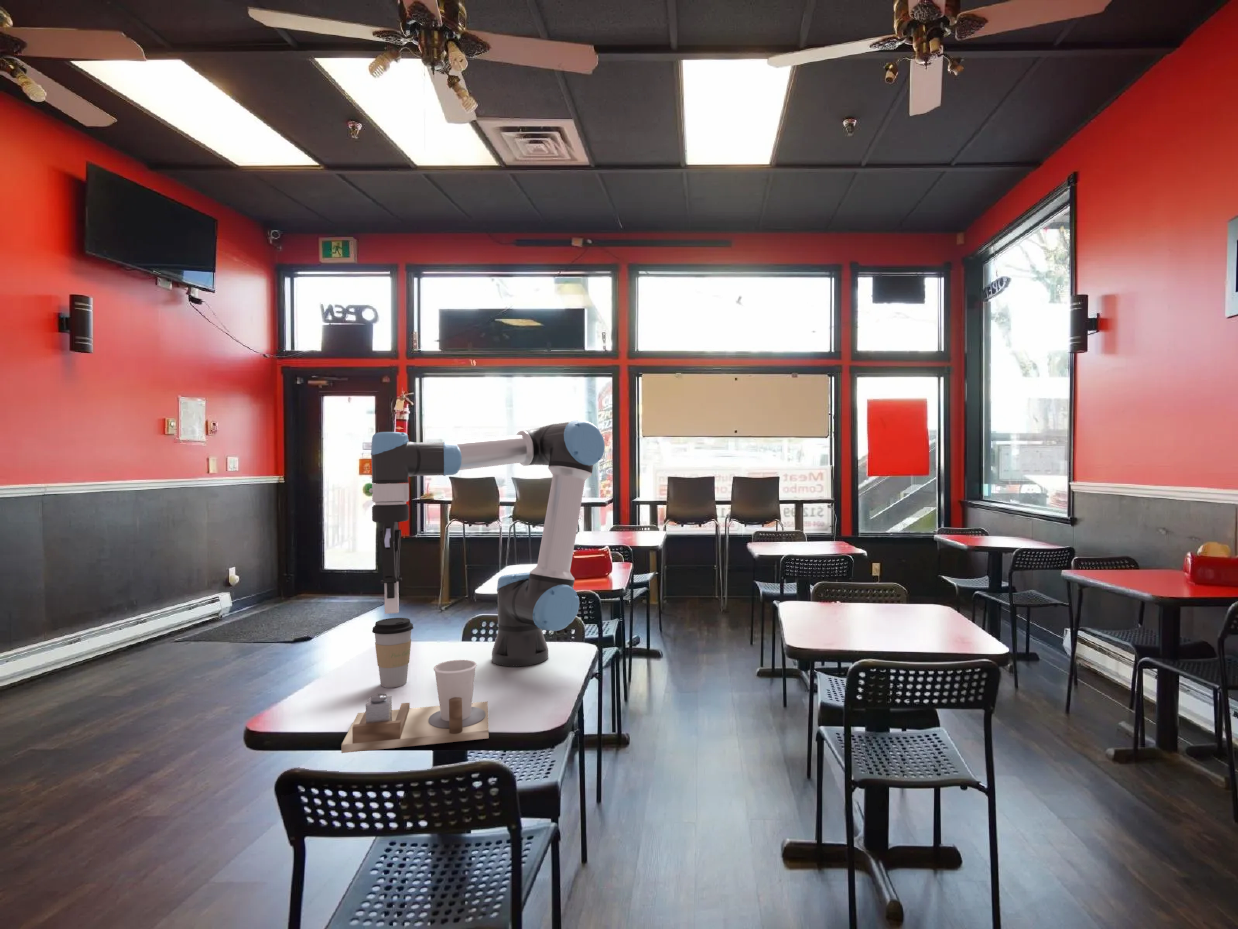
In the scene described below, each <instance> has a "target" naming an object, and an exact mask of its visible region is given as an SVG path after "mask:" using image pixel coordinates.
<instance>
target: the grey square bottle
mask: <svg viewBox="0 0 1238 929" xmlns="http://www.w3.org/2000/svg"><path fill="white" fill-rule="evenodd" d="M392 698H393V696H391V695H389V696H388V695H387V694H386V693H377V694H373V695H371V697H369V698H368V700H367V702H366V703H365V711H366V723H375V722H386V721H392V710H393V704H392Z"/></svg>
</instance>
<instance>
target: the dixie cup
mask: <svg viewBox="0 0 1238 929" xmlns="http://www.w3.org/2000/svg"><path fill="white" fill-rule="evenodd" d="M477 666H478V664H477V663H476V662H475V661H473V660H469V659H455V660H448V661H443V662H440V663H437V664H436V665H435V666H434V667H433V671H434V673H435V682H436V689H437V695H438V696H437V697H438V702H439V706H440V712H441V718H442V719H443V720H445V721H449V699H451V698H454V697H461V698H462V720H463V719H466V718H468V717H470V715H471V706H472V703H473V694H474V684H475V677H476V668H477Z"/></svg>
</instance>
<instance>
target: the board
mask: <svg viewBox="0 0 1238 929" xmlns="http://www.w3.org/2000/svg"><path fill="white" fill-rule="evenodd" d="M488 703H489V702H488V701H477V702H472V706H471V715H470V717H468V718H466V719H463V720H462V698H461V697H454V698H451V699H449V721H445V720H443V719H442V718H441V712H440V705H433V706H422V707H411V706H410V704H411V703H410V702H402V703H401V704H400V707H399V709H392V721H386V722H375V723H366V710H365V711H364V712H358V713H357V714H356V716H355V718H354V719H353V722H352V724H351V726H350V727H349V730H348V732H347V733H346V735H345V737H344V739H343V741H342V742H341V744H340V746H341V750H340V751H341V752H340V753H341V754H346V753H354V752H355V753H356V752H367V751H374V750H384V749H395V748H404V747H405V748H406V747H415V746H416V747H417V746H426V745H436V744H445V743H446V744H447V743H453V742H465V741H474V740H476V741H477V740H483V739H484V740H485V739H490V738H489V737H490V735H489V734H490V733H489V731H490V728H489V704H488ZM410 707H411V708H410Z"/></svg>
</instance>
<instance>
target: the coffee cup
mask: <svg viewBox="0 0 1238 929" xmlns="http://www.w3.org/2000/svg"><path fill="white" fill-rule="evenodd" d="M374 624H375V625H374V626H373V627H372V630H371V631H372V634H374V639H375V640H374V641H375V642H374V645H375V654H376V662H377V664H376V665H377V667H378V672H379V673H378V674H379V680H380V681H379V683H380V686H381V687H383V688H390V689H391V688H396V687H403V686H404V685H406V684H407V681H408V672H409V663H410V656H411V646H412V637H411V636H412V630H413V629H414V623H412V622H411V619H410V618H407V617H389V618H383V619H380V620H377V621H375V623H374Z"/></svg>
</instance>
